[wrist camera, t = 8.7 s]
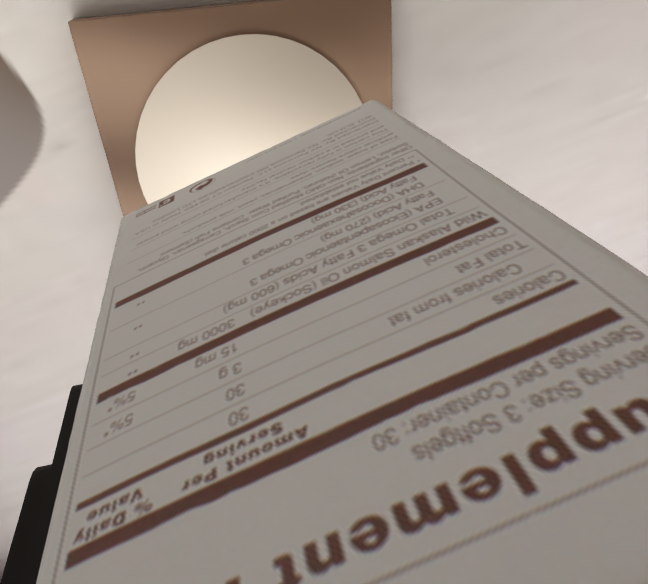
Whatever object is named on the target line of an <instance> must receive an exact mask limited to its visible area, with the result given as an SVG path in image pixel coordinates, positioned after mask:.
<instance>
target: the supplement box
mask: <svg viewBox="0 0 648 584" xmlns="http://www.w3.org/2000/svg"><path fill="white" fill-rule="evenodd" d="M36 584H648V276H646V275H645V274H644V273H642V272H641V271H639V270H638V269H636V268H635V267H633V266H632V265H630V264H629V263H627V262H626V261H624V260H623V259H621V258H620V257H618V256H617V255H615V254H614V253H612V252H611V251H609V250H608V249H606V248H605V247H603V246H602V245H600V244H599V243H597V242H596V241H594V240H592V239H591V238H589V237H588V236H586V235H585V234H583V233H582V232H580V231H578V230H577V229H575V228H574V227H572V226H571V225H569V224H568V223H566V222H565V221H563V220H562V219H560V218H559V217H557V216H556V215H554V214H553V213H551V212H550V211H548V210H547V209H545V208H544V207H542V206H540V205H539V204H537V203H536V202H534V201H532V200H531V199H529V198H528V197H526V196H524V195H523V194H521V193H520V192H518V191H517V190H515V189H514V188H512V187H511V186H509V185H508V184H506V183H505V182H503V181H502V180H500V179H499V178H497V177H495V176H494V175H492V174H491V173H489V172H488V171H486V170H484V169H483V168H481V167H480V166H478V165H477V164H475V163H473V162H472V161H470V160H469V159H467V158H466V157H464V156H462V155H461V154H459V153H458V152H456V151H455V150H453V149H452V148H450V147H449V146H447V145H446V144H444V143H443V142H441V141H440V140H438V139H437V138H435V137H433V136H432V135H430V134H428V133H427V132H425V131H424V130H422V129H421V128H419V127H418V126H416V125H414V124H413V123H411V122H410V121H408V120H407V119H405V118H404V117H402V116H400V115H399V114H397V113H396V112H394V111H392V110H390V109H389V108H388V107H386V106H385V105H383V104H382V103H380V102H378V101H376V100H370V101H368V102H366V103H364V104H362V105H360V106H358V107H356V108H354V109H352V110H350V111H348V112H346V113H344V114H341V115H339V116H337V117H335V118H332V119H330V120H328V121H326V122H324V123H322V124H319V125H317V126H315V127H313V128H311V129H309V130H307V131H305V132H302V133H300V134H298V135H296V136H294V137H292V138H290V139H288V140H286V141H283V142H281V143H279V144H277V145H274V146H273V147H271V148H269V149H266V150H264V151H261V152H259V153H257V154H255V155H253V156H251V157H249V158H247V159H244V160H242V161H240V162H238V163H236V164H233V165H231V166H229V167H227V168H225V169H223V170H221V171H219V172H217V173H214V174H212V175H210V176H208V177H205V178H203V179H201V180H199V181H197V182H195V183H193V184H191V185H188V186H186V187H184V188H182V189H180V190H178V191H176V192H173V193H171V194H169V195H168V196H166V197H164V198H162V199H159V200H157V201H155V202H153V203H150V204H148V205H146V206H144V207H142V208H140V209H138V210H136V211H133V212H131V213H129V214H128V215H126V216H124V217H123V218H122V220H121V223H120V228H119V232H118V236H117V241H116V245H115V249H114V253H113V257H112V262H111V266H110V270H109V275H108V279H107V283H106V288H105V292H104V296H103V299H102V304H101V309H100V313H99V317H98V320H97V324H96V329H95V334H94V338H93V342H92V346H91V351H90V356H89V361H88V365H87V368H86V372H85V376H84V381H83V386H82V390H81V394H80V398H79V402H78V406H77V410H76V414H75V419H74V424H73V429H72V433H71V436H70V440H69V445H68V451H67V455H66V459H65V463H64V467H63V471H62V476H61V480H60V484H59V488H58V492H57V497H56V501H55V505H54V509H53V514H52V518H51V522H50V526H49V531H48V535H47V539H46V543H45V548H44V552H43V556H42V561H41V565H40V569H39V573H38V578H37V582H36Z"/></svg>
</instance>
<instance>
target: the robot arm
mask: <svg viewBox="0 0 648 584" xmlns="http://www.w3.org/2000/svg"><path fill="white" fill-rule="evenodd" d="M82 386H83V384H81V385H76V386H73V387H72V388H71V391H70V395H69V399H68V403H67V407H66V411H65V415H64V419H63V423H62V427H61V431H60V435H59V439H58V443H57V447H56V451H55V455H54V459H53V463H52V464H51V465H47V466H42V467H37V468H36V469H35V470H34V471H33V473H32V476H31V478H30V481H29V485H28V488H27V492H26V495H25V499H24V502H23V506H22V509H21V513H20V516H19V520H18V523H17V527H16V530H15V534H14V537H13V541H12V544H11V548H10V551H9V555H8V558H7V562H6V565H5V569H4V572H3V576H2V579H1V583H0V584H36V582H37V578H38V573H39V569H40V565H41V561H42V556H43V552H44V548H45V543H46V539H47V535H48V531H49V526H50V522H51V518H52V514H53V509H54V505H55V501H56V497H57V492H58V488H59V484H60V480H61V476H62V471H63V467H64V463H65V459H66V455H67V451H68V445H69V440H70V436H71V433H72V429H73V424H74V419H75V414H76V410H77V406H78V402H79V398H80V394H81V390H82Z"/></svg>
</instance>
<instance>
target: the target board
mask: <svg viewBox="0 0 648 584" xmlns="http://www.w3.org/2000/svg"><path fill="white" fill-rule="evenodd" d="M68 24H69V27H70V31H71V34H72V38H73V41H74V45H75V48H76V52H77V55H78V59H79V62H80V66H81V69H82V73H83V76H84V80H85V83H86V87H87V90H88V94H89V97H90V101H91V104H92V108H93V111H94V115H95V118H96V122H97V125H98V129H99V132H100V136H101V139H102V143H103V146H104V149H105V153H106V156H107V160H108V163H109V167H110V170H111V174H112V177H113V181H114V184H115V188H116V191H117V195H118V198H119V202H120V205H121V209H122V212H123V216H126V215H128V214H129V213H131V212H133V211H136V210H138V209H140V208H142V207H144V206H146V205H148V204H150V203H153V202H155V201H157V200H159V199H162V198H164V197H166V196H168V195H169V194H171V193H173V192H176V191H178V190H180V189H182V188H184V187H186V186H188V185H191V184H193V183H195V182H197V181H199V180H201V179H203V178H205V177H208V176H210V175H212V174H214V173H217V172H219V171H221V170H223V169H225V168H227V167H229V166H231V165H233V164H236V163H238V162H240V161H242V160H244V159H247V158H249V157H251V156H253V155H255V154H257V153H259V152H261V151H264V150H266V149H269V148H271V147H273V146H274V145H277V144H279V143H281V142H283V141H286V140H288V139H290V138H292V137H294V136H296V135H298V134H300V133H302V132H305V131H307V130H309V129H311V128H313V127H315V126H317V125H319V124H322V123H324V122H326V121H328V120H330V119H332V118H335V117H337V116H339V115H341V114H344V113H346V112H348V111H350V110H352V109H354V108H356V107H358V106H360V105H362V104H364V103H366V102H368V101H370V100H376V101H378V102H380V103H382V104H383V105H385V106H386V107H388V108H389V109H390V110H392V36H391V0H261V1H251V2H240V3H230V4H220V5H210V6H200V7H190V8H180V9H170V10H160V11H150V12H140V13H130V14H120V15H110V16H100V17H90V18H80V19H73V20H71V21H69V22H68Z"/></svg>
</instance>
